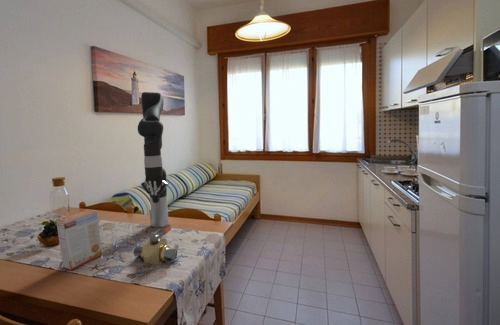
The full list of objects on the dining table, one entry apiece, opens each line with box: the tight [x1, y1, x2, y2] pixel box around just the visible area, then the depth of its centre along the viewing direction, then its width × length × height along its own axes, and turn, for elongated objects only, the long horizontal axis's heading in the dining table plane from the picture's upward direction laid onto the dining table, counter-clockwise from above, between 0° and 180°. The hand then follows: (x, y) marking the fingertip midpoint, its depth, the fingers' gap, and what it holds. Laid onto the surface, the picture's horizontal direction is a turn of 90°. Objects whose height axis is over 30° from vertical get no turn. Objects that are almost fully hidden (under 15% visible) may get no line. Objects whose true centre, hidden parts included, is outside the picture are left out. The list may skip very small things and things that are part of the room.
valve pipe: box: [133, 237, 178, 265], centre depth 114 cm, size 18×7×8 cm, turn 80°
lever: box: [149, 224, 172, 243], centre depth 118 cm, size 14×4×2 cm, turn 170°
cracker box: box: [56, 209, 103, 271], centre depth 113 cm, size 14×6×21 cm, turn 153°
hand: (156, 202), depth 121 cm, fingers closed
